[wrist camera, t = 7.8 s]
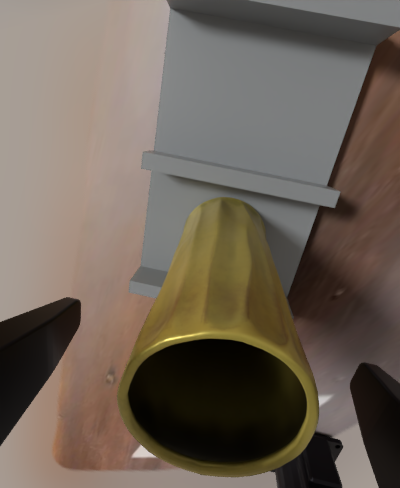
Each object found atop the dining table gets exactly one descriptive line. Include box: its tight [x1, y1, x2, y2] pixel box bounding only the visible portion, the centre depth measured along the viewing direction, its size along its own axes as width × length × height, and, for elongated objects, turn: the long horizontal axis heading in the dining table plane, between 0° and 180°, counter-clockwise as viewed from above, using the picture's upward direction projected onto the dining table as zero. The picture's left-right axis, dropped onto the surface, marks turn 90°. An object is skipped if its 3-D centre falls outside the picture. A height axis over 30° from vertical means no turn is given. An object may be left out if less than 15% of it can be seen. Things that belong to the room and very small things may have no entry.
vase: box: [117, 197, 319, 477], centre depth 14 cm, size 6×6×14 cm
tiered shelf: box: [129, 0, 400, 319], centre depth 18 cm, size 19×12×3 cm, turn 170°
